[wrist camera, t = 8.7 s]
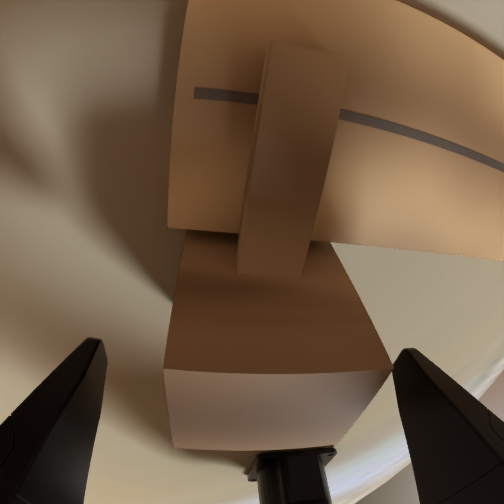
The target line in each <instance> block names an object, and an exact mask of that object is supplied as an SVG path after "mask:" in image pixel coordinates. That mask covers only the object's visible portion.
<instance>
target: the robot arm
mask: <svg viewBox="0 0 504 504" xmlns="http://www.w3.org/2000/svg"><path fill="white" fill-rule="evenodd" d="M393 367H394V369H393V370H392V374H393V380H394V385H395V391H396V397H397V403H398V408H399V413H400V417H401V421H402V425H403V429H404V433H405V437H406V441H407V445H408V449H409V453H410V458H411V462H412V466H413V471H414V476H415V481H416V485H417V490H418V495H419V501H420V504H504V422H503V421H502V420H501V419H499V418H498V417H497V416H496V415H495V414H493V413H492V412H491V411H490V410H489V409H487V408H486V407H485V406H484V405H483V404H482V403H480V402H479V401H478V400H477V399H476V398H475V397H473V396H472V395H471V394H470V393H469V392H468V391H466V390H465V389H464V388H463V387H462V386H460V385H459V384H458V383H457V382H456V381H454V380H453V379H452V378H451V377H450V376H448V375H447V374H446V373H445V372H444V371H442V370H441V369H440V368H439V367H438V366H436V365H435V364H434V363H433V362H431V361H430V360H429V359H428V358H427V357H425V356H424V355H423V354H422V353H420V352H419V351H418V350H417V349H415V348H405V349H403V350H402V351H401V353H400V354H399V356H398V357H397V359H396V361H395V362H394V364H393ZM106 370H107V356H106V352H105V348H104V344H103V341H102V340H101V339H98V338H92V337H89V338H87V339H85V340H84V341H83V342H82V343H81V344H80V345H79V346H78V347H77V348H76V349H75V350H74V351H73V352H72V353H71V354H70V355H69V356H68V357H67V358H66V359H65V360H64V361H63V362H62V363H61V364H60V365H59V366H58V367H57V368H56V369H55V370H54V371H53V372H52V373H51V374H50V375H49V376H48V377H47V378H46V379H45V380H44V381H43V382H42V383H41V384H40V385H39V386H38V387H37V388H36V389H35V390H34V391H33V392H32V393H31V394H30V395H29V396H28V397H27V398H26V399H25V400H24V401H23V402H22V403H21V404H20V405H19V406H18V407H17V408H16V409H15V410H14V411H13V412H12V413H11V416H8V417H7V419H6V420H5V421H4V422H3V423H2V424H1V425H0V504H83V502H84V496H85V490H86V483H87V478H88V472H89V467H90V461H91V456H92V451H93V446H94V441H95V437H96V432H97V428H98V423H99V419H100V414H101V408H102V400H103V392H104V385H105V377H106ZM336 454H337V452H336V449H335V448H330V449H322V450H312V451H301V452H288V453H270V454H260V455H258V456H257V457H256V459H255V461H254V464H253V466H252V468H251V470H250V472H249V474H248V481H251V482H254V481H257V482H258V492H259V501H260V504H332V501H331V496H330V492H329V487H328V482H327V478H326V473H325V468H324V467H325V466H326V465H327V464H328V463H329V462H330V460H331V459H332V458H333V457H334V456H335V455H336Z"/></svg>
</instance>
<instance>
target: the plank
mask: <svg viewBox="0 0 504 504" xmlns="http://www.w3.org/2000/svg"><path fill="white" fill-rule="evenodd" d="M272 42H276V43H281V44H287V45H292V46H297V47H302V48H307V49H311V50H316V51H320V52H324V53H328V54H332V55H336V56H340V57H344V58H348V59H350V62H349V68H348V74H347V79H346V84H345V90H344V95H343V100H342V105H341V110H340V115H339V120H338V125H337V129H336V134H335V139H334V143H333V148H332V153H331V157H330V162H329V166H328V170H327V175H326V179H325V183H324V188H323V192H322V196H321V200H320V204H319V208H318V212H317V216H316V220H315V224H314V228H313V232H312V236H311V240H315V241H326V242H336V243H346V244H356V245H366V246H376V247H385V248H395V249H404V250H413V251H423V252H432V253H441V254H449V255H458V256H467V257H475V258H484V259H492V260H500V261H504V60H503V59H501V58H500V57H498V56H497V55H496V54H494V53H493V52H491V51H490V50H488V49H487V48H485V47H484V46H482V45H481V44H479V43H477V42H476V41H474V40H473V39H471V38H469V37H468V36H466V35H464V34H463V33H461V32H459V31H457V30H456V29H454V28H452V27H450V26H448V25H447V24H445V23H443V22H441V21H439V20H437V19H435V18H433V17H431V16H429V15H427V14H425V13H423V12H421V11H419V10H417V9H415V8H412V7H410V6H408V5H406V4H403V3H401V2H399V1H396V0H188V5H187V11H186V17H185V23H184V29H183V36H182V43H181V50H180V58H179V65H178V74H177V82H176V92H175V101H174V112H173V123H172V136H171V150H170V167H169V187H168V217H167V228H177V229H189V230H202V231H214V232H226V233H238V234H239V229H240V222H241V215H242V207H243V200H244V193H245V186H246V179H247V173H248V166H249V159H250V152H251V145H252V139H253V132H254V125H255V119H256V112H257V105H258V99H259V93H260V86H261V80H262V73H263V67H264V61H265V55H266V48H267V45H269V44H270V43H272Z"/></svg>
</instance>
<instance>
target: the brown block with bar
mask: <svg viewBox="0 0 504 504" xmlns="http://www.w3.org/2000/svg"><path fill="white" fill-rule="evenodd" d="M349 62H350V59H348V58H344V57H340V56H336V55H332V54H328V53H324V52H320V51H316V50H311V49H307V48H302V47H297V46H292V45H287V44H281V43H276V42H272V43H270V44H269V45H267V48H266V55H265V61H264V67H263V73H262V80H261V86H260V93H259V99H258V105H257V112H256V119H255V125H254V132H253V139H252V145H251V152H250V159H249V166H248V173H247V179H246V186H245V193H244V200H243V207H242V215H241V222H240V229H239V234H238V233H226V232H214V231H202V230H189V229H187V232H186V237H185V242H184V247H183V252H182V257H181V262H180V267H179V273H178V278H177V284H176V289H175V295H174V301H173V307H172V313H171V319H170V325H169V331H168V338H167V344H166V351H165V358H164V365H163V373H164V383H165V392H166V400H167V408H168V416H169V423H170V430H171V437H172V443H173V448H183V449H199V450H226V451H253V450H281V449H296V448H308V447H318V446H327V445H335V444H338V442H339V441H340V440H341V439H342V438H343V436H344V435H345V434H346V433H347V432H348V430H349V429H350V428H351V427H352V425H353V424H354V423H355V422H356V420H357V419H358V418H359V416H360V415H361V414H362V413H363V411H364V410H365V409H366V407H367V406H368V405H369V403H370V402H371V400H372V399H373V398H374V396H375V395H376V394H377V392H378V391H379V389H380V388H381V387H382V385H383V384H384V382H385V381H386V379H387V378H388V376H389V375H390V373H391V372H392V370H393V369H394V367H393V365H392V363H391V360H390V358H389V356H388V354H387V352H386V350H385V348H384V346H383V343H382V341H381V339H380V337H379V335H378V333H377V331H376V329H375V327H374V325H373V323H372V321H371V319H370V317H369V315H368V313H367V311H366V309H365V307H364V305H363V303H362V301H361V299H360V297H359V295H358V293H357V292H356V290H355V288H354V286H353V284H352V282H351V280H350V278H349V276H348V274H347V273H346V271H345V269H344V267H343V265H342V263H341V261H340V260H339V258H338V256H337V254H336V252H335V251H334V249H333V247H332V245H331V243H330V242H326V241H315V240H311V236H312V232H313V228H314V224H315V220H316V216H317V212H318V208H319V204H320V200H321V196H322V192H323V188H324V183H325V179H326V175H327V170H328V166H329V162H330V157H331V153H332V148H333V143H334V139H335V134H336V129H337V125H338V120H339V115H340V110H341V105H342V100H343V95H344V90H345V84H346V79H347V74H348V68H349Z"/></svg>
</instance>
